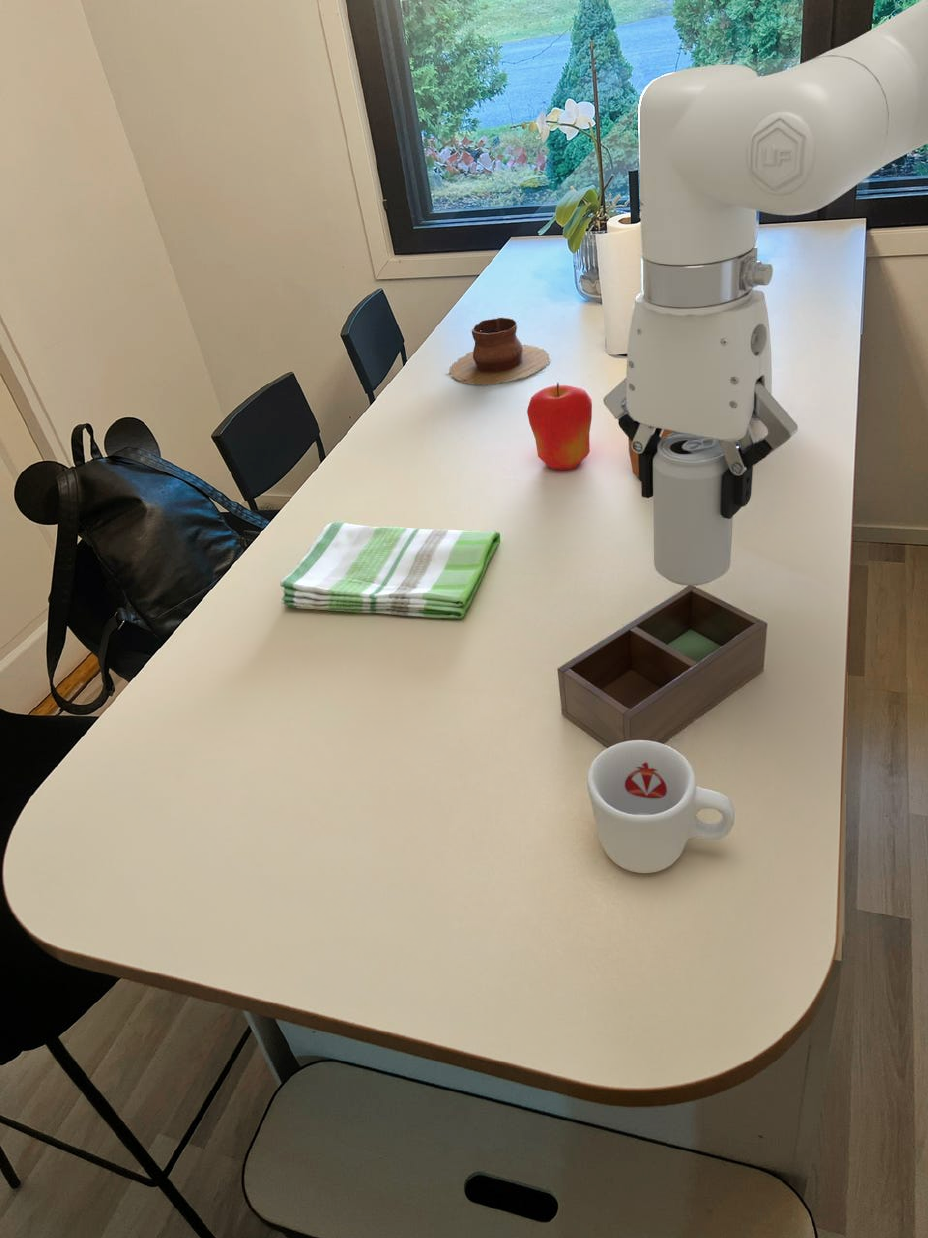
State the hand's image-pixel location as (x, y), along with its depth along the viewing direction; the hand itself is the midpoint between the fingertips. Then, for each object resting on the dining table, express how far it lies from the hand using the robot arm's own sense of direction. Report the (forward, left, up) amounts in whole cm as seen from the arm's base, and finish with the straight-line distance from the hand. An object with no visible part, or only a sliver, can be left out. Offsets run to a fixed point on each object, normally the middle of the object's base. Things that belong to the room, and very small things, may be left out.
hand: (693, 498), depth 71 cm
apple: (+43, -22, -20) cm, 52 cm away
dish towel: (+38, +10, -20) cm, 44 cm away
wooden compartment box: (+1, +3, -20) cm, 20 cm away
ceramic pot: (+79, -39, -20) cm, 90 cm away
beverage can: (0, 0, -7) cm, 7 cm away
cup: (-11, +16, -20) cm, 28 cm away
